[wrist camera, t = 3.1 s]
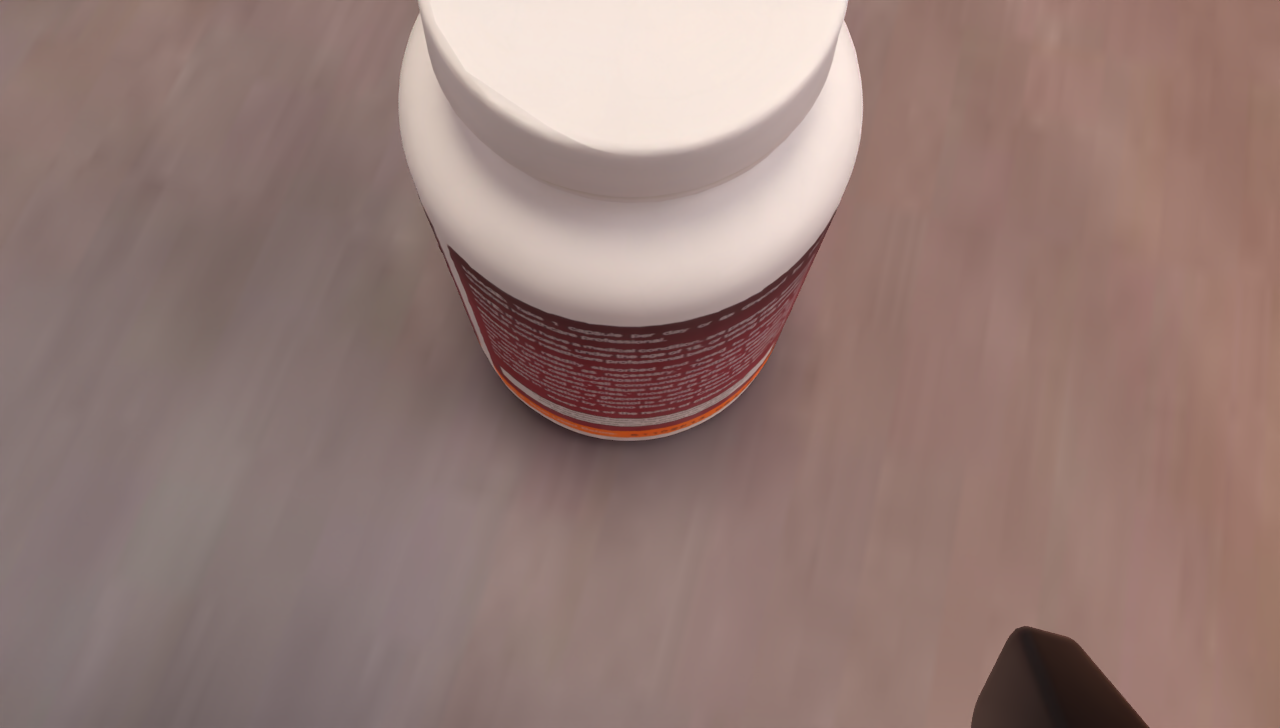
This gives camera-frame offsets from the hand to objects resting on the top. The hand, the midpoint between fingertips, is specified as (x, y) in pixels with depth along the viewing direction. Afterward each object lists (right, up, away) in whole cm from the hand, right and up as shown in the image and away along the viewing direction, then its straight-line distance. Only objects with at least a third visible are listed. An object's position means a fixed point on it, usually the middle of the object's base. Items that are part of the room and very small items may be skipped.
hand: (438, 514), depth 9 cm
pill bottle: (+1, +2, +14) cm, 14 cm away
